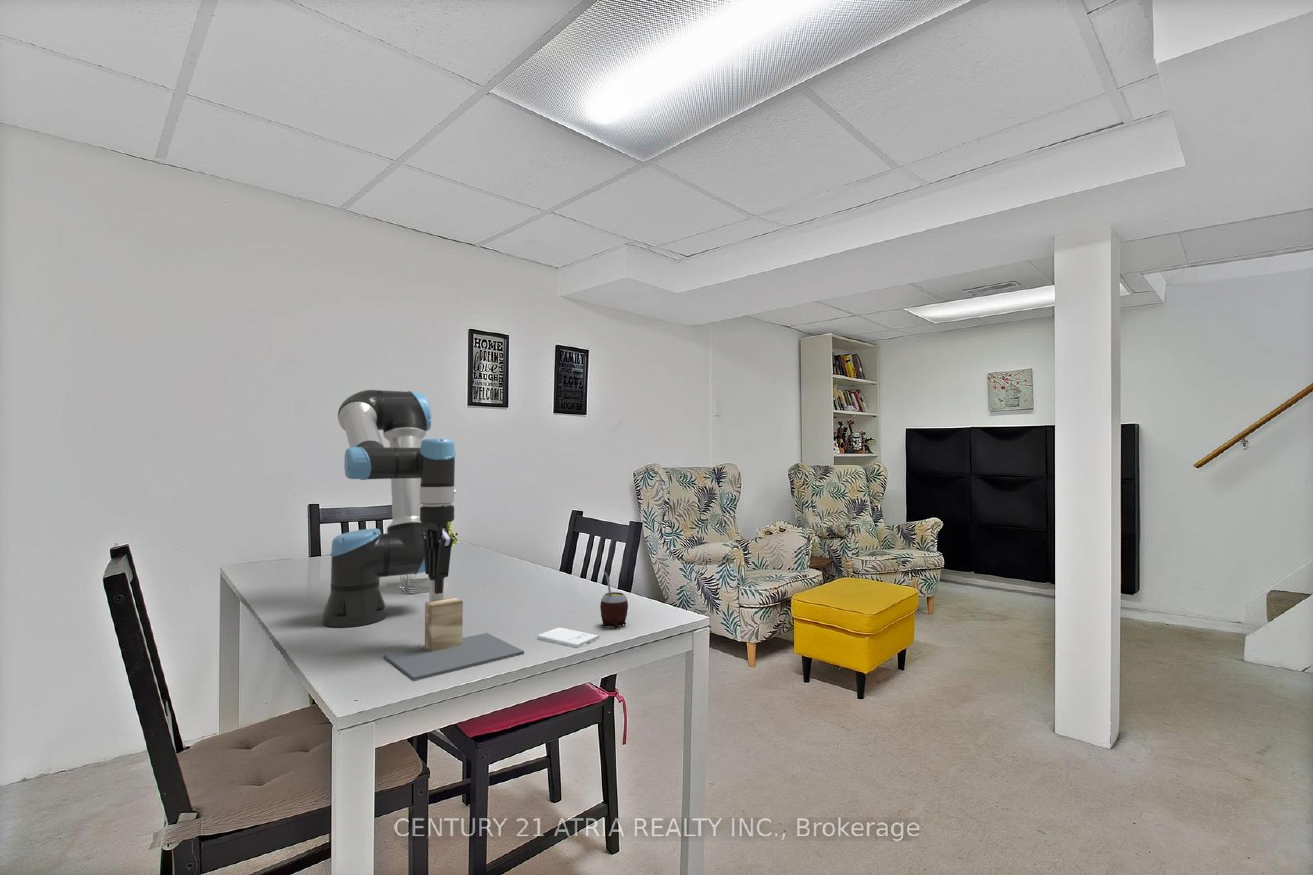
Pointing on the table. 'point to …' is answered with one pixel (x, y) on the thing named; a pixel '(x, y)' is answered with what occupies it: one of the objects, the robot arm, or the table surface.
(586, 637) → the external hard drive
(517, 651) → the mat
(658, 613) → the table surface
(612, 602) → the mate gourd
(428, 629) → the face block
